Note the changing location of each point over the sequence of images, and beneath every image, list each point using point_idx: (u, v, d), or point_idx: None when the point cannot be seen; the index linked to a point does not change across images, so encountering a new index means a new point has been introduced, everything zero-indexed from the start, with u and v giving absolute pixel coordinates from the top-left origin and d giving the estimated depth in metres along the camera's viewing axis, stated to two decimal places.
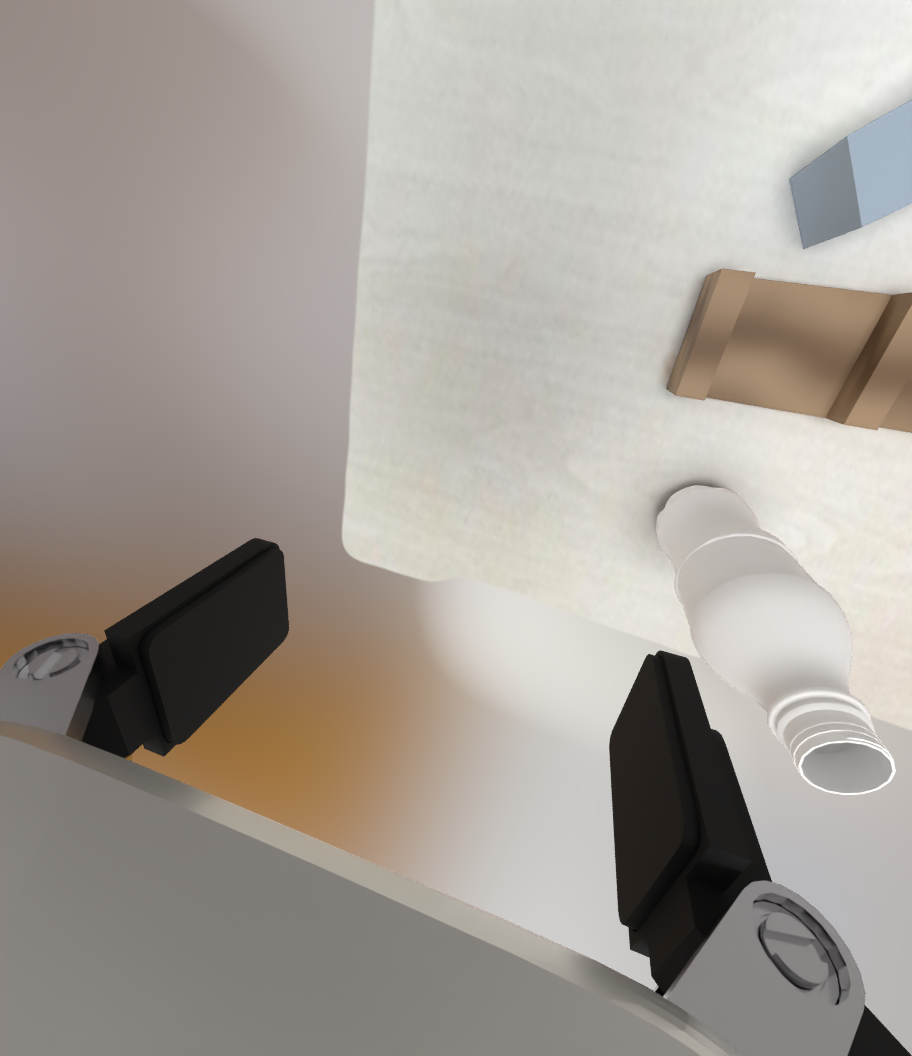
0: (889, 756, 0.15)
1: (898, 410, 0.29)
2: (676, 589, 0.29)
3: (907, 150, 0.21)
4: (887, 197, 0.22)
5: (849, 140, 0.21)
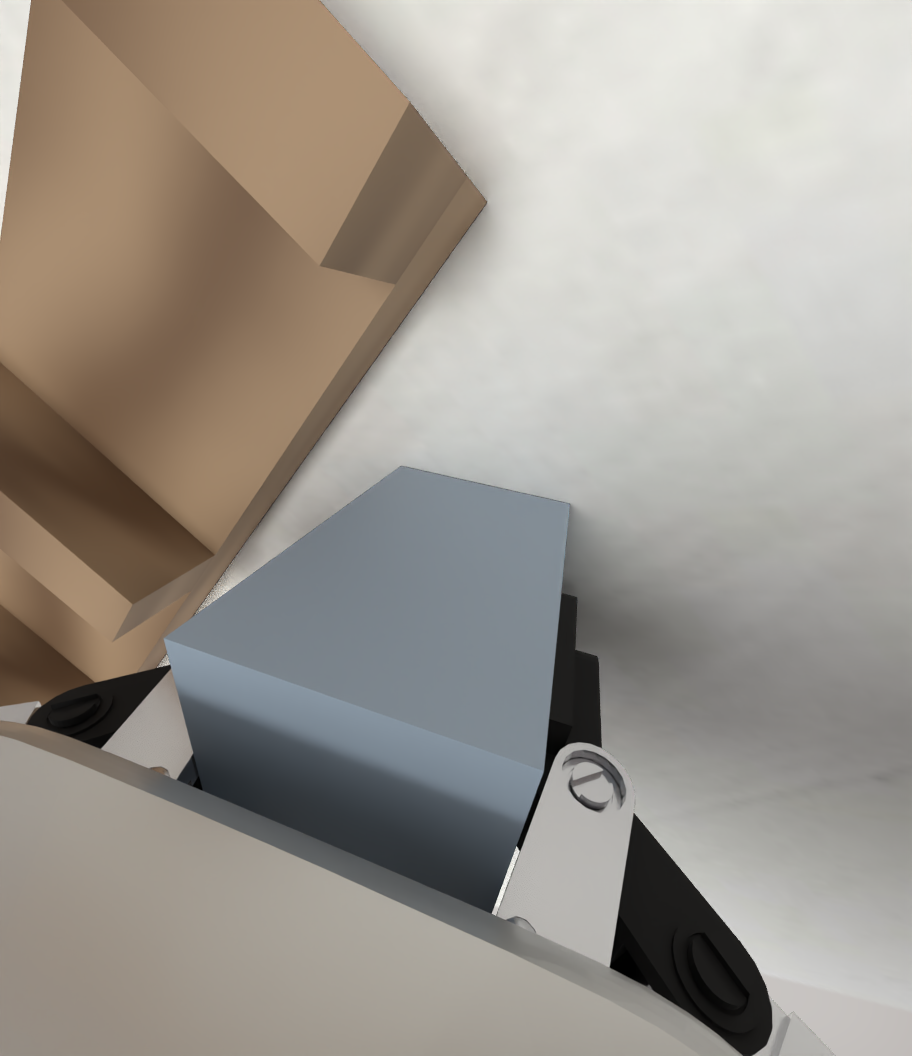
0: None
1: None
2: None
3: (351, 817, 0.05)
4: (233, 726, 0.05)
5: (518, 763, 0.04)
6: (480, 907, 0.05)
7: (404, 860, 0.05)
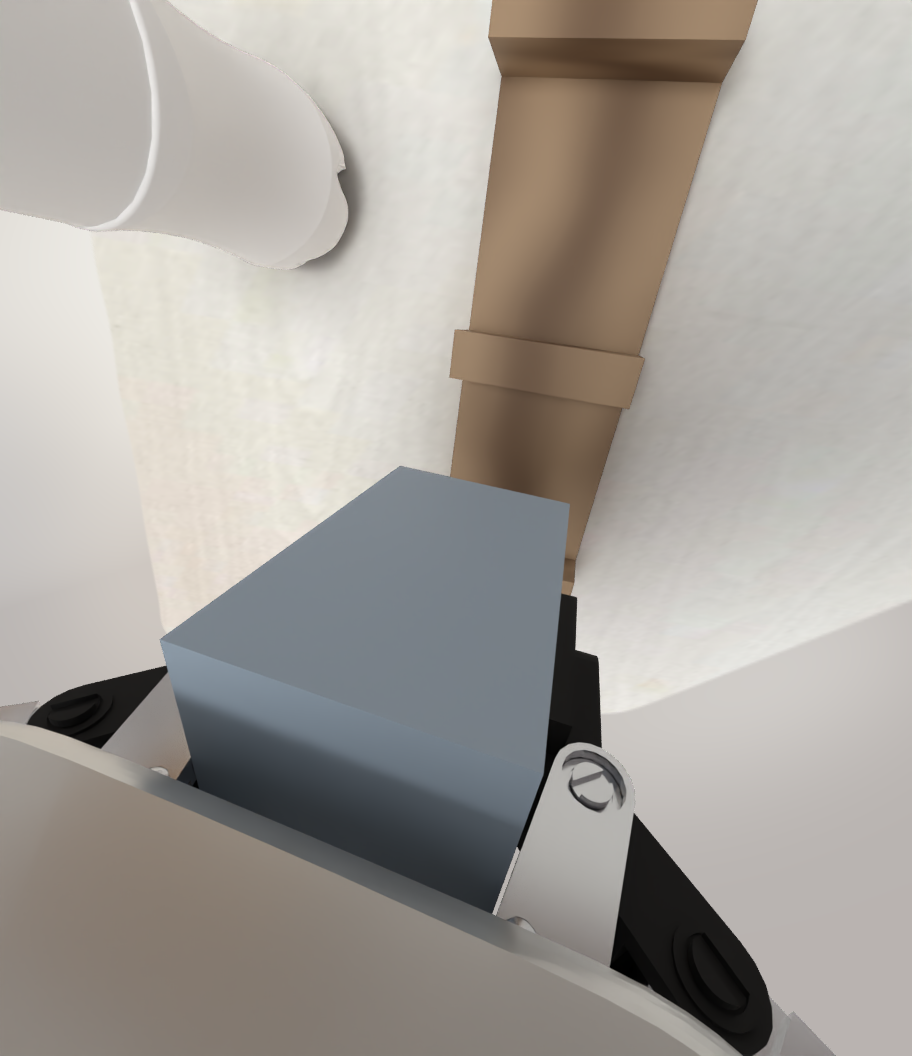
0: None
1: (481, 416, 0.22)
2: None
3: (349, 821, 0.05)
4: (230, 729, 0.05)
5: (517, 766, 0.04)
6: None
7: (403, 862, 0.05)
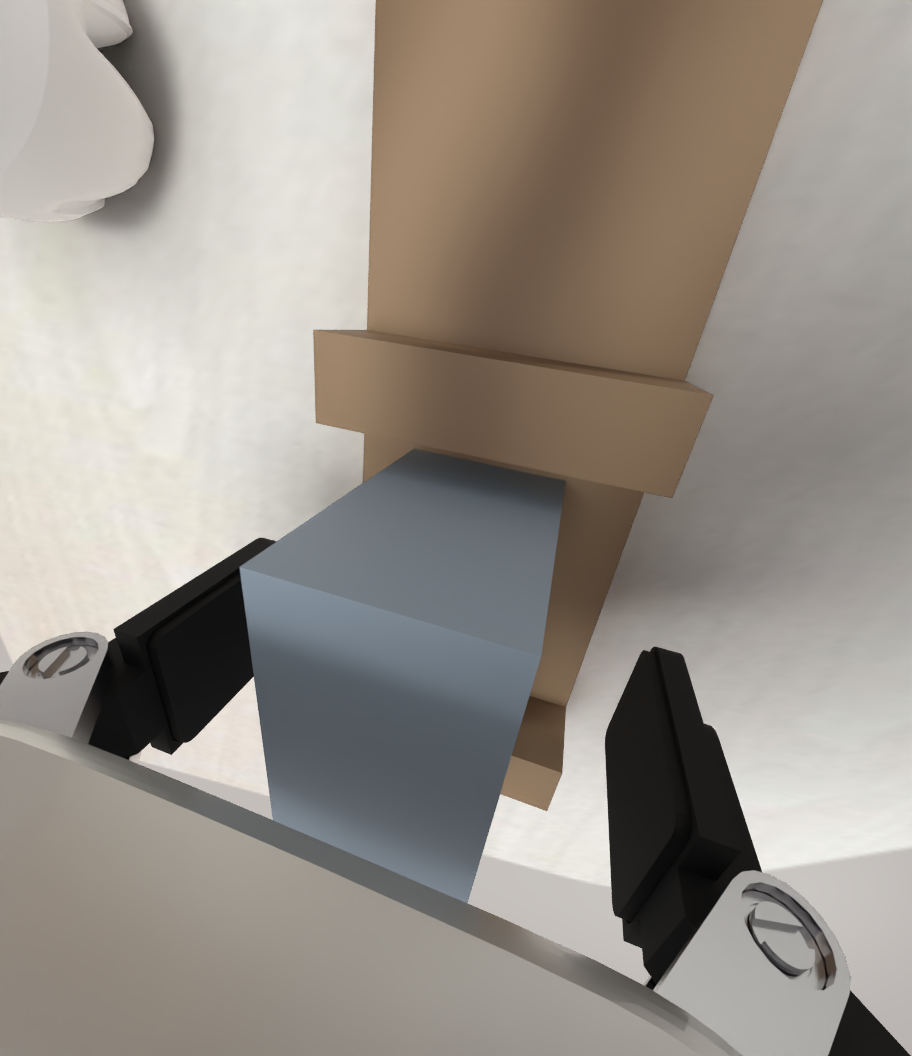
0: None
1: None
2: None
3: (385, 718, 0.07)
4: (291, 642, 0.06)
5: (521, 653, 0.05)
6: (490, 791, 0.07)
7: (428, 753, 0.07)
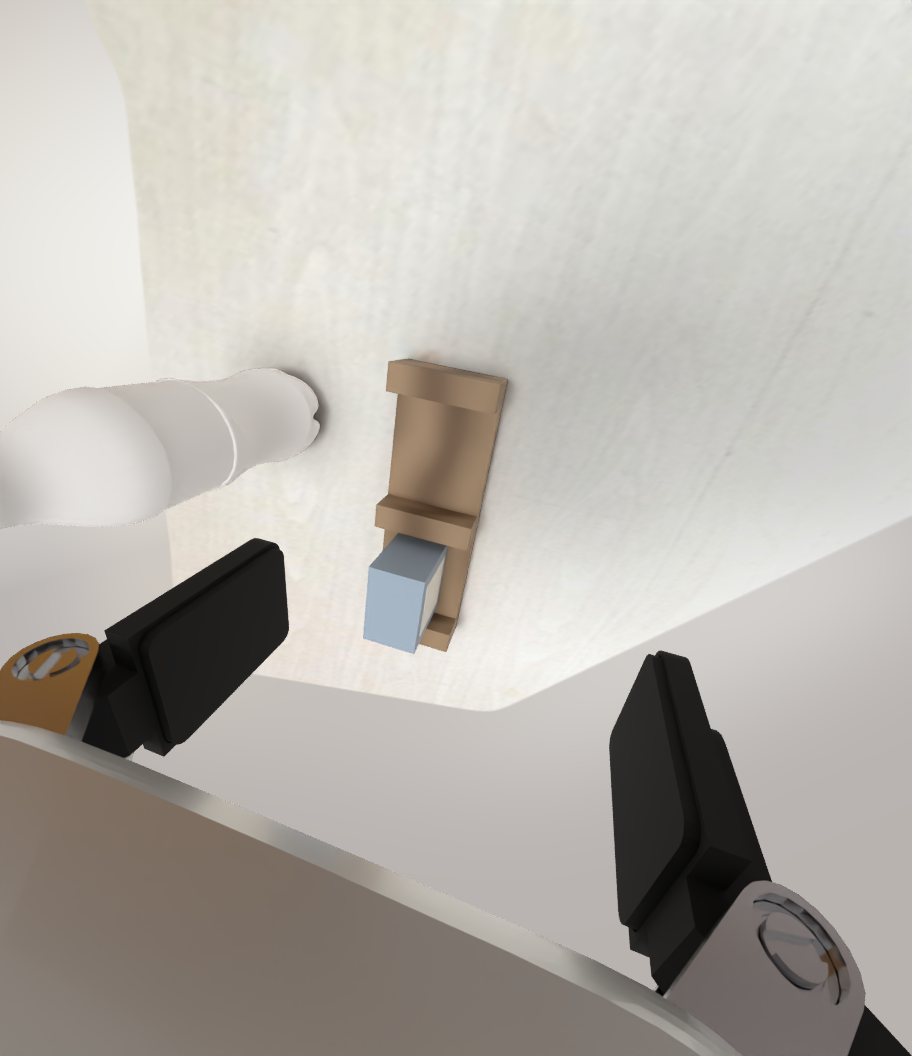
0: None
1: None
2: (156, 381, 0.25)
3: (396, 598, 0.31)
4: (377, 582, 0.31)
5: (421, 582, 0.30)
6: (418, 613, 0.32)
7: (405, 606, 0.32)
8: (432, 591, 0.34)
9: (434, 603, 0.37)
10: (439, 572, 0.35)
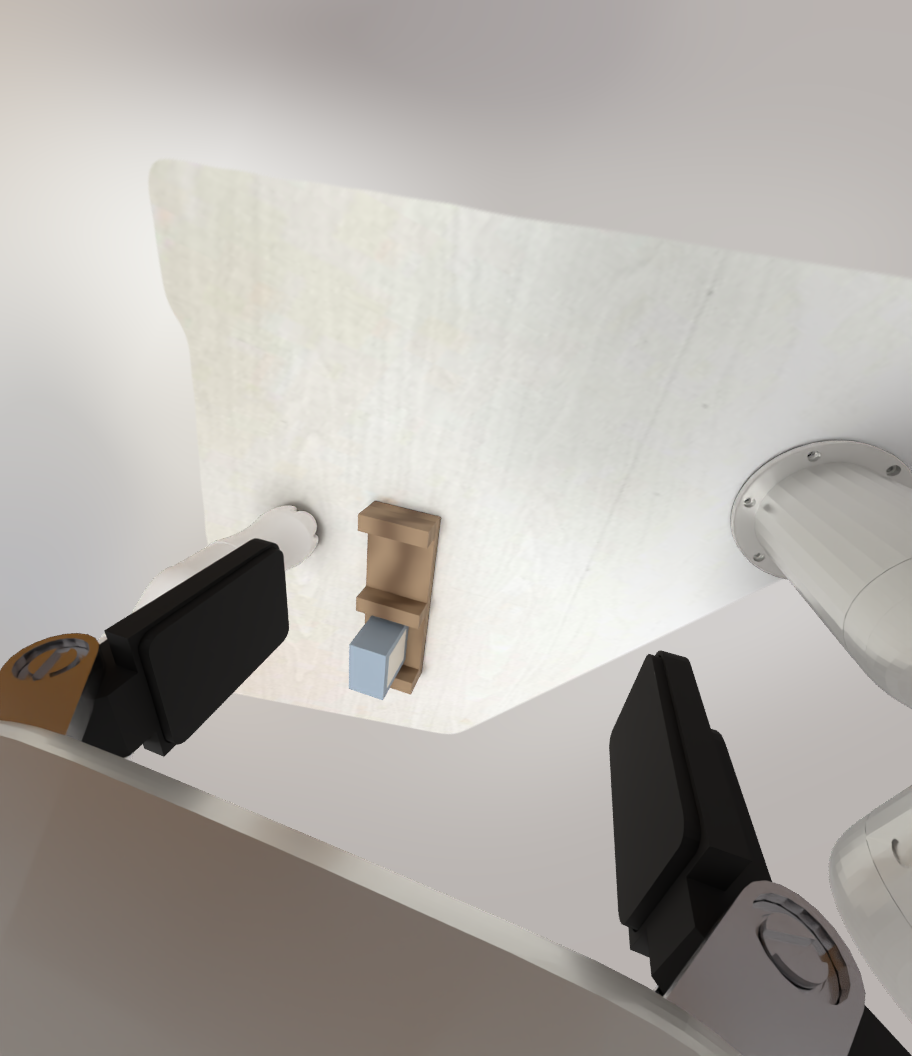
0: None
1: None
2: (214, 542, 0.41)
3: (368, 664, 0.47)
4: (355, 654, 0.47)
5: (383, 655, 0.46)
6: (383, 674, 0.47)
7: (374, 669, 0.47)
8: (396, 656, 0.49)
9: (400, 661, 0.52)
10: (401, 641, 0.50)
